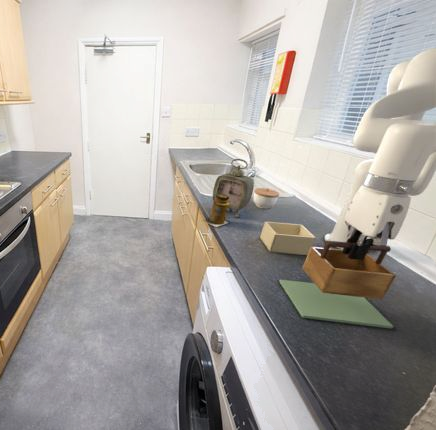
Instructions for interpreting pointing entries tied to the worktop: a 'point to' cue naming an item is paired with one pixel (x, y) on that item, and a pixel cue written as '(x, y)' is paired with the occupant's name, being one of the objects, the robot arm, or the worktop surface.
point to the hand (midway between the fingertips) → (352, 255)
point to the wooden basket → (348, 271)
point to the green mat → (332, 305)
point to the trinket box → (265, 197)
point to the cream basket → (287, 238)
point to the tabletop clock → (235, 188)
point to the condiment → (218, 211)
